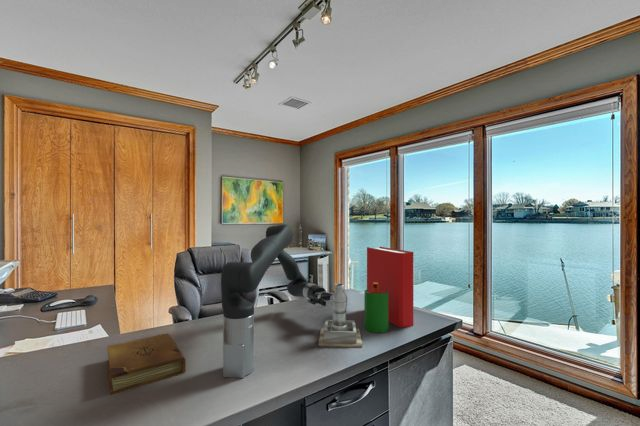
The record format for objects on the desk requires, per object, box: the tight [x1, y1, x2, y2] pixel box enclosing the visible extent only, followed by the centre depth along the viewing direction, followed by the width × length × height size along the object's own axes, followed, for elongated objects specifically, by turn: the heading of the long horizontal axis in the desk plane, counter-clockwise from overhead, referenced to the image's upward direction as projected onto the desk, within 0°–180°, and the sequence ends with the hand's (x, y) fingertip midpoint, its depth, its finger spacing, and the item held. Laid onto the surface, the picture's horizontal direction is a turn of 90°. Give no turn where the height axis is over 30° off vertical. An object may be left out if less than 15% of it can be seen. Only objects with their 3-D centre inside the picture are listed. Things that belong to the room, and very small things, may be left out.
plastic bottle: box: [330, 283, 348, 331], centre depth 119 cm, size 6×7×20 cm
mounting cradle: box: [318, 319, 363, 348], centre depth 119 cm, size 16×16×5 cm
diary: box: [107, 333, 187, 395], centre depth 96 cm, size 23×19×6 cm
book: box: [366, 246, 414, 328], centre depth 144 cm, size 27×8×32 cm, turn 23°
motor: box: [363, 282, 390, 334], centre depth 129 cm, size 10×9×20 cm
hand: (334, 301), depth 123 cm, fingers open, 8 cm apart
